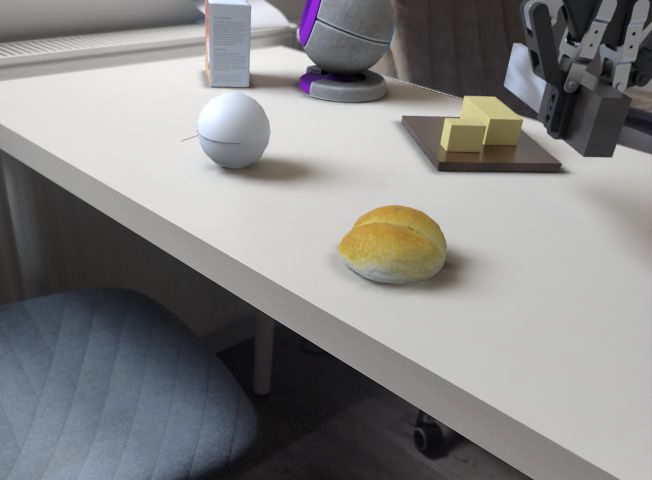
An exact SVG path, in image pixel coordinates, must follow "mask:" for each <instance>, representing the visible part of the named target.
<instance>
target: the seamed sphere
mask: <svg viewBox="0 0 652 480" xmlns="http://www.w3.org/2000/svg"><path fill="white" fill-rule="evenodd" d="M197 119H198V120H197V126H196V133H197V134H196V135H193V136H191V137H188V138H185V139H182V140H181V141H180V142H181V143H182V142H184V141H187V140H190V139H193V138H195V137H196V138H197V137H198V141H199V145H200V147H201V149H202V150H203V152H204V155H205V156H207V157H208V158H209V159H210V160H211V161H212V162H213V163H215V164H216V165H218V166H221V167H224V168H226V169H231V170H232V169H233V170H235V169H236V170H237V169H242V168H246V167H249V166H251V165H253V164H254V163H256V162H257V161H258V160H259V159H260V158H262V156H263V155H264V153H265V151H266V149H267V148H268V145H269V142H270V137H271V134H272V133H271V126H270V120H269V117H268V116H267V113H266V112H265V109H264V107H263V106H262V105H261V104H260V103H259V102H258V101H257V100H256V99H254V98H253V97H251V96H249V95H247V94H245V93H243V92H237V91H227V92H224V93H221V94H218V95H216V96H214V97H213V98H211V99H210V100H209V101H208V102H207V103H206V104H205V106H204V107H203V108H202V110H201V112H200V114H199V116H198V118H197Z"/></svg>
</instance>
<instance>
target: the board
mask: <svg viewBox="0 0 652 480" xmlns="http://www.w3.org/2000/svg"><path fill="white" fill-rule="evenodd" d="M445 118H460V116H445V115H443V116H440V115H439V116H438V115H437V116H436V115H402V116H401V119H400V121H401V122H400V124H401V125H402V126H403V128H405V130H406V132H407V134H409V135H410V137H411V138H412V139H413V140H414V142H415V143H416V145H417V146H418V147H419V148H420V150H421V151H422V152H423V153H424V155H425V156H426V157H427V159H428V160H429V162H430V163H431V164H432V165H433V166H434V168H435V169H436V170H437V171H439V172H440V171H441V172H442V171H446V172H449V171H450V172H514V173H515V172H517V173H518V172H521V173H522V172H525V173H527V172H528V173H560V172H561V170H562V169H561V168H562V165H563V163H562V162H561V161H560V160H558V159H557V158H556V157H555V156H554V155H552V154H551V153H550V152H549V151H548V150H547V149H545V148H544V147H543V146H541V144H540V143H538V142H537V141H536V140H535V139H533V137H531V136H530V135H528V134H527V133H526V132H525V131H524V130H522V129H521V131H520V135H519V139H518V143H517V145H484V144H482V148H481V152H446V150H445V149H444V148H443V147H442V146H441V145H440V143H441V138H442V132H443V127H444V121H445Z"/></svg>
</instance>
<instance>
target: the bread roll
mask: <svg viewBox="0 0 652 480" xmlns="http://www.w3.org/2000/svg"><path fill="white" fill-rule="evenodd" d="M447 250H448V244H447V239H446V237H445V235H444V232H443V231H442V229H441V227H440V224H438V222H436V221H435V220H434V219H433V218H432V217H430V216H429V215H428V214H426V213H425V212H424V211H422V210H419V209H417V208H413V207H410V206H405V205H400V204H390V205H384V206H378V207H377V208H374V209H372V210H369V211H368V212H365V213H363V214H362V215H361V216H359V217H358V219H357V220H356V221H355V222H354V224H353V226H352V228H351V230H350V231H348V232H347V233H346V234H344V236H343V238H341V241H340V242H339V245H338V255H339V258H340V259H341V260H340V261H342V262H343V263H344V264H346V266H347V267H348V268H350V270H353V271H354V272H355V273H357V274H359V275H360V276H362V277H363V278H366V279H367V280H370V281H373V282H377V283H383V284H389V285H390V284H391V285H400V284H402V285H403V284H411V283H418V282H422V281H427V280H429V279H430V278H432V277H434V276H435V275H436V274H437V273H439V271H440V270H441V269H442V268H443V266H444V263H445V262H446V258H447V254H448V251H447Z"/></svg>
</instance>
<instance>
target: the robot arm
mask: <svg viewBox="0 0 652 480" xmlns="http://www.w3.org/2000/svg"><path fill="white" fill-rule="evenodd" d="M559 11H561V13H562V16H563V19H564V22H565V25H566V28H565V30H564V33H563V36H562V38H561V41H560V43H559V47H558V51H557V47H556V42H555V36H554V30H553V27H555V25H556V24H557V22H558V14H559ZM519 13H520V17H521V22H522V27H523V32H524V37H525V43H526V47H528V52H529V57H530V62H531V67H532V71H533V73H534V74H535V75H536V76H538V77H539V78H541V79H543V80H544V81H546V82H547V83H550V85H551V92H550V96H549V100H548V104H547V108H546V111H545V115H544V119H543V127H544V128H545V129H546V134H547V135H548V136H549V137H550V138H552V139H553V140H554V141H555V140H556V141H557V140H559V141H563V139H564V138H565V137H566V133H567V130H568V126H569V123H570V119H571V116H572V112H573V109H574V105H575V102H576V99H577V95H578V94H576V93H575V91H576V90H577V89H578V87H579V85H580V82H581V80H582V77H583V75H584V72H585V71H587V70H586V69H587V68H588V65H589V64H591V63H592V62H593V61H594V59H595V56H596V54H597V52H599V55H600V60H599V61H600V62H599V67H598V72H597V78H598V79H600V80H602V81H603V82H605V83H607V84H608V85H610V86H612V87H613V88H615V89H617V90H618V91H620V92H622V93H624V91H625V90H627V89H631V88H634V87H638V88H643V87H645V86H647V85H648V84H649V83H650V81H651V80H652V28H651V29H650V30H649V32H648V33H647V34H646V36H645V37H644V38H643V39H642V36H643V35H642V34H643V32H644V31H645V30H646V29H647V28H648V26H650V25H651V24H652V0H522V1H521V2H520V4H519ZM641 39H642V41H641ZM598 50H599V51H598ZM558 52H559V55H558Z"/></svg>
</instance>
